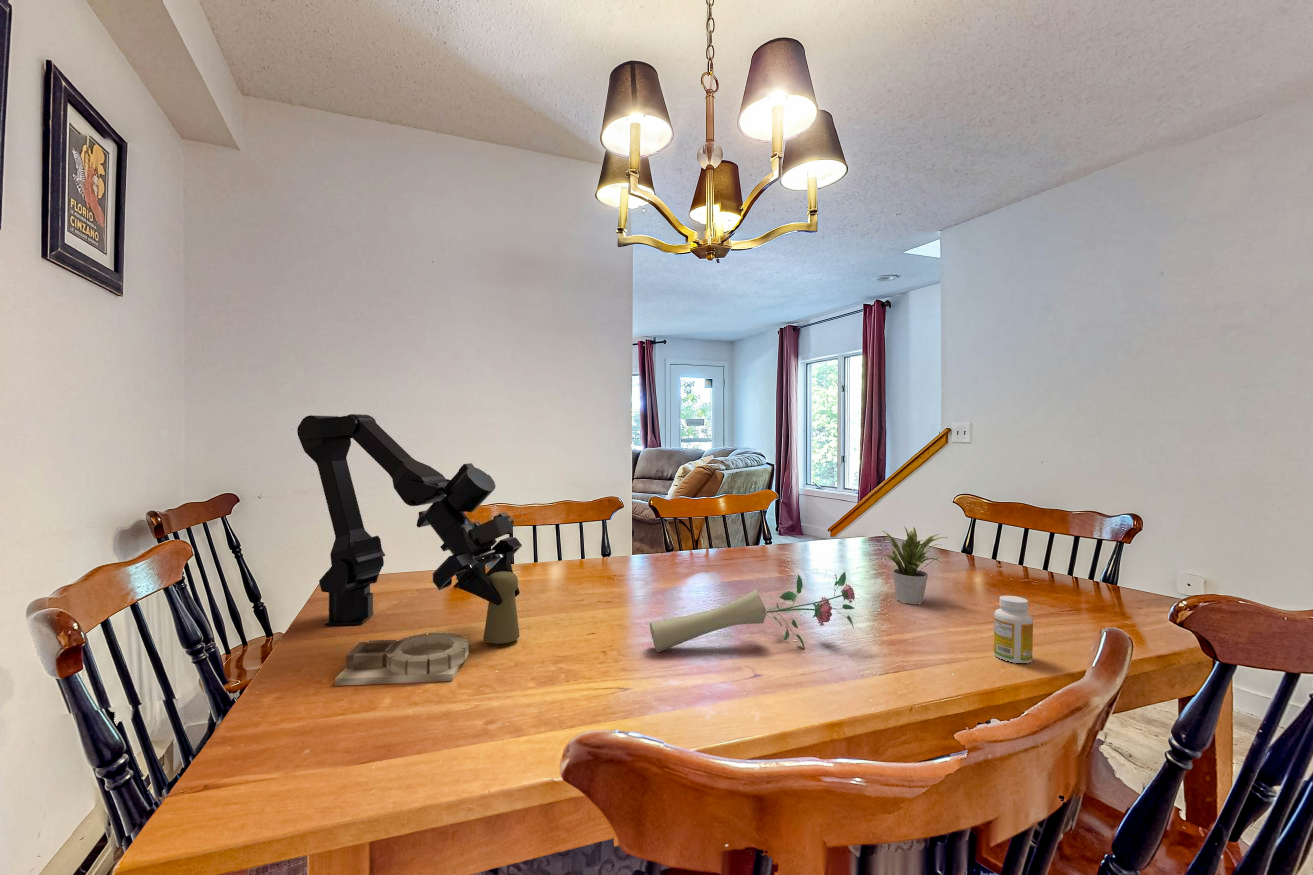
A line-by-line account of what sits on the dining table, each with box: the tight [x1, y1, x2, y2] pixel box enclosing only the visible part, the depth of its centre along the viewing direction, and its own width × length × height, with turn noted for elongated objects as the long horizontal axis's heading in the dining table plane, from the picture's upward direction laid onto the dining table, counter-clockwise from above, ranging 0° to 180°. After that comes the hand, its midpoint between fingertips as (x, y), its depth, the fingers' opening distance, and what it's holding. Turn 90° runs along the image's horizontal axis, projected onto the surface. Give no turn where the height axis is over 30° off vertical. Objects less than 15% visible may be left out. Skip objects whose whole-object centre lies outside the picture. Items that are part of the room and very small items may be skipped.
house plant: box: [882, 525, 947, 605], centre depth 124 cm, size 14×14×16 cm
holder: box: [334, 631, 470, 687], centre depth 89 cm, size 17×12×3 cm
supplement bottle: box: [993, 595, 1034, 664], centre depth 95 cm, size 5×5×10 cm
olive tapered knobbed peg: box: [482, 572, 520, 645], centre depth 99 cm, size 6×6×11 cm
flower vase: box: [649, 571, 856, 654], centre depth 99 cm, size 12×12×35 cm
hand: (509, 599), depth 99 cm, fingers closed on olive tapered knobbed peg, 5 cm apart
